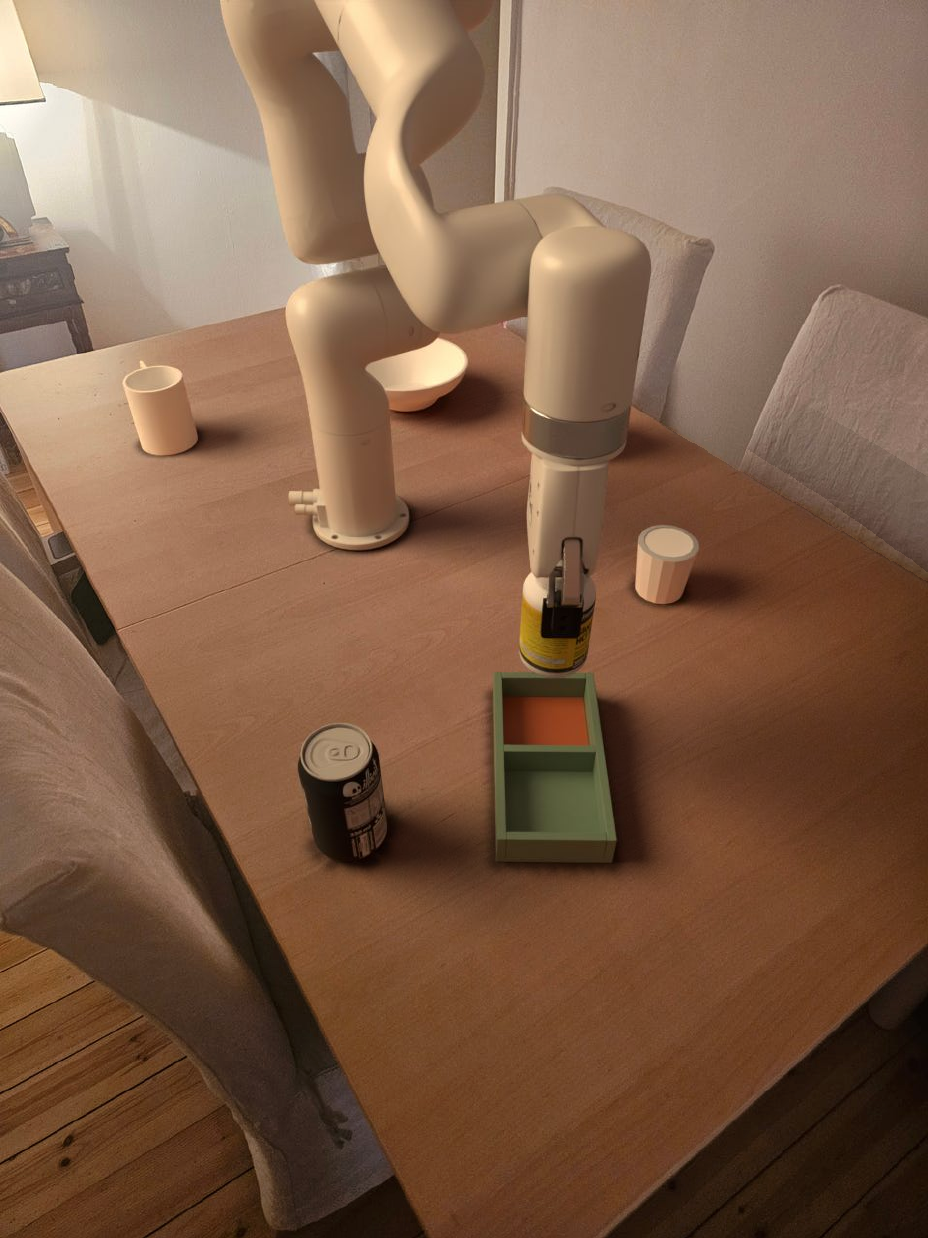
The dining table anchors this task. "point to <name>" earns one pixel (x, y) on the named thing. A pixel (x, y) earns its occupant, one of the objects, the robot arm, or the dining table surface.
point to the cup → (160, 409)
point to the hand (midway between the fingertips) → (556, 606)
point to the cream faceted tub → (664, 563)
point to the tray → (550, 771)
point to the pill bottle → (546, 652)
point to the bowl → (420, 375)
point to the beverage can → (343, 791)
